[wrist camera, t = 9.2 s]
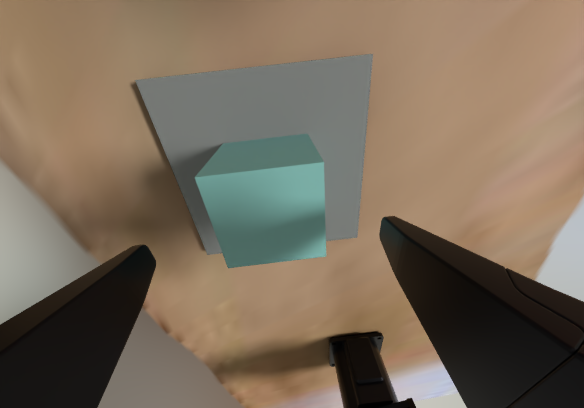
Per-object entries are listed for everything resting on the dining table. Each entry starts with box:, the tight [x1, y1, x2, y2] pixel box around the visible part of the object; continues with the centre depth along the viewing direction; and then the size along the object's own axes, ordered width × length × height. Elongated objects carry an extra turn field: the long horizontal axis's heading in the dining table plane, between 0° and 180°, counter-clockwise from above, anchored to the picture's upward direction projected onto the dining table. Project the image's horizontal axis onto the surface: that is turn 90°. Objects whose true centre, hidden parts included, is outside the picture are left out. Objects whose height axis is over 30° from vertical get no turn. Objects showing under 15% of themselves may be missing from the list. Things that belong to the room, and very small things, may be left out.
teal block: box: [195, 134, 326, 268], centre depth 11 cm, size 5×5×5 cm
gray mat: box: [135, 54, 373, 255], centre depth 14 cm, size 12×12×1 cm
